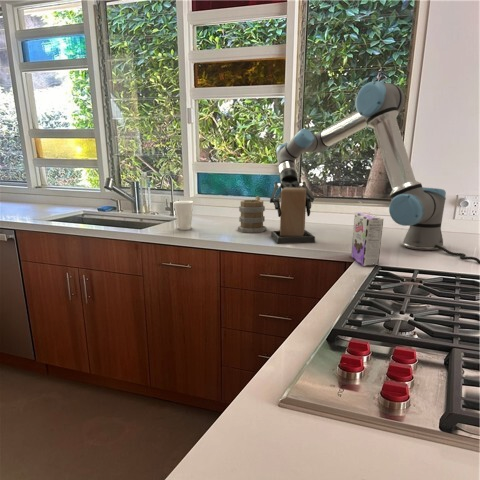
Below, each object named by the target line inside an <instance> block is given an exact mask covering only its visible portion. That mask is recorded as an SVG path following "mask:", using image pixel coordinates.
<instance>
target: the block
mask: <svg viewBox="0 0 480 480" xmlns="http://www.w3.org/2000/svg"><path fill="white" fill-rule="evenodd" d="M281 190H282V191H281ZM281 190H280V192H281V199H280V208H281V215H280V217H279V218H280V220H279V231H280V236H281V237H303V235H304V232H305V230H306V213H307V211H306V188H301V187H300V188H297V187H285V188H283V189H282V188H281Z"/></svg>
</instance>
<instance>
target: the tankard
mask: <svg viewBox="0 0 480 480" xmlns="http://www.w3.org/2000/svg"><path fill="white" fill-rule="evenodd" d="M265 211H266V206H265V205H264V200H261V198H260V196H259V195H256V197H255V199H243V200H240V205H239V206H238V212H240V216H238V217H239V218H238V222H240V225H239V226H238V227H237V231H239V232H241V233H249V234H251V233H252V234H255V233H256V234H257V233H263V232H265V231H266V230H267V226H266V225H264V222H265V221H266V220H265V217H266V216H265V215H264V212H265Z"/></svg>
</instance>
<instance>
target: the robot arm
mask: <svg viewBox="0 0 480 480" xmlns="http://www.w3.org/2000/svg"><path fill="white" fill-rule="evenodd" d="M405 99H406V98H405V92H404V90H403V89H402V88H401V86H399V85H398V84H395V83H388V82H382V81H379V80H377V81H376V80H375V81H369V82H367V83H365V84H364V85H363V86H362V87H360V89H359V90H358V92H357V95H356V97H355V109H356V111H354V112H352V113H351V114H349V115H347V116H346V117H344V118H342V119H340V120H338V121H337V122H335V123H333V124H331V125H329V126H327V127H326V128H324V129H322V130H320V131H319V132H317V133H312V131H310V129H307V128H301V129H300V130H299V131H297V132H296V133H295V135H294V136H293V137H292V138H291V139H290V140H289V141H288V142H283V143H281V144H279V145H277V147H276V160H277V166H278V171H279V180H280V182H279V183H278V182H277V181H275V182H274V186H273V191H272V193H271V196H270V199H269V203H270V204H273V205H274V209H275V210H277V216H278V217H279V218H280V215H281V191H282V189H283V188H285V187H297V188H306V215H307V217H310V215H311V208H312V203H314V200H315V195H314V194H313V193H312V191H311V190H310V189H309V187H308V186H307V183H306V181H303V182H302V183H301V182H299V179H298V173H297V167H296V160H297V159H298V158H299V157H300V156H301V155H302V154H303V153H323V152H326V151H328V150H329V148H330V147H332V146H333V145H335V144H337V143H338V142H340V141H343V140H345V139H347V138H348V137H350V136H352V135H355V134H357V133H358V132H360V131H363V130H364V129H366V128H367V127H368V128H370V129H372V130H373V133H374V136H375V140H376V142H377V146H378V149H379V152H380V155H381V159H382V161H383V165H384V168H385V171H386V174H387V177H388V180H389V184H390V186H391V192H390V194H389V197H390V204H389V205H388V212H389V216H390V218H391V219H392V221H394V223H396V224H397V225H400V226H404V227H406V226H409V228H408V229H407V231H406V234H405V236H404V238H403V241H402V246H403V247H404V248H406V249H411V250H415V251H416V250H417V251H443V252H445V253H446V254H447V255H448V254H449V255H450V256H454V257H455V256H456V257H457V256H458V257H459V258H460V260H467V261H468V260H472V261H475V262H476V263H477V264H478V265H480V259H479V258H477V257H476V256H467V255H466V254H465V253H463V252H453V251H450V250H448V249H447V248H445V247H444V238H443V234H442V224H443V223H442V222H443V216H444V212H445V211H444V210H445V204H446V200H447V197H446V196H447V191H446V190H445V189H442V188H436V187H435V188H434V187H423V184H422V182H419V181H418V180H416V178H415V174H414V172H413V167H412V164H411V162H410V158H409V155H408V152H407V149H406V146H405V143H404V140H403V137H402V134H401V133H402V132H401V130H400V127H399V124H398V120H397V118H398V116H399V114H400V112H401V111H402V109H403V108H404V105H405V101H406V100H405ZM279 188H280V189H281V190H280V191H279V193H278V194H277V192H278V189H279ZM276 194H277V195H276Z"/></svg>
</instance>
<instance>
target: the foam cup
mask: <svg viewBox="0 0 480 480" xmlns="http://www.w3.org/2000/svg"><path fill="white" fill-rule="evenodd" d="M173 207H174V211H175V212H174V213H175V217H176V223H177V224H176V225H177V228H178V230H179V231H180V230H181V231H189V230H191V229H192V223H193V222H192V221H193V213H194V212H193V210H194V201H193V200H176V201H173Z"/></svg>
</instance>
